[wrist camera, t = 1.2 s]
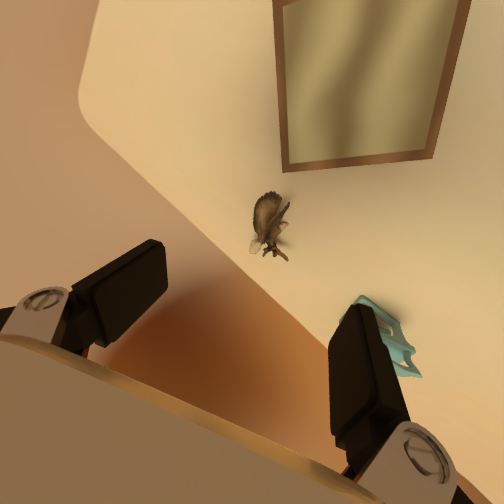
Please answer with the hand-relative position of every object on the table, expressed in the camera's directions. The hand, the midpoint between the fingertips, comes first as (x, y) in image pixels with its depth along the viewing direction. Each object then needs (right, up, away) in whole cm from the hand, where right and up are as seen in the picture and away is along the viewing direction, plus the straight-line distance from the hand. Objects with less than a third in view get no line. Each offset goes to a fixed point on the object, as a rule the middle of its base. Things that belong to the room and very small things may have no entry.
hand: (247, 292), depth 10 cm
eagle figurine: (+4, +7, +24) cm, 25 cm away
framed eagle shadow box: (+12, +20, +13) cm, 27 cm away
